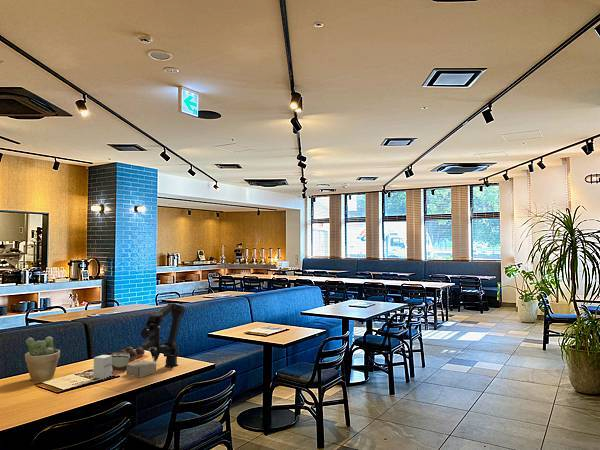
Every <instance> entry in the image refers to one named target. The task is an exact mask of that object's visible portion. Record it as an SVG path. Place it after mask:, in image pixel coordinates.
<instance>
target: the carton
mask: <svg viewBox="0 0 600 450" xmlns="http://www.w3.org/2000/svg"><path fill="white" fill-rule="evenodd" d="M151 364H153V361H149V360H145V359H143V360H140V361H138V362H134V363H130V364H127V366H126V371H125V372H126V374H125V375H128V376H133V377H135V378H136V377H137V378H140V377H139V367H143V366H147V365H151Z"/></svg>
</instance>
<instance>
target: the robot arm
mask: <svg viewBox="0 0 600 450" xmlns="http://www.w3.org/2000/svg"><path fill="white" fill-rule="evenodd" d="M185 312H186V308H185V307H184V306H183V305H179V304H177V303H174V302H169V303H167V304H166V305H165V306H164V307H162V309H161V310H159V311H158V312H155V313H152V314H151V315H149V316H148V319H147V322H146V324H145V326H144V327H143V329H142V330H141V331H140V337H141V338H142V339H145V342H143V343H142V344H141V348H143V349H144V351H148V352H150V354H151V358H152V359H153V357H154V360H155V361H158V359H159V357H160V355H161V353H162V354H163V357H164V358H165V357H166V358H165V365H164V367H167V368H174V367H178V366H179V364H178V361H177V359H178V358H179V356H180V351H179V350H178V345H177V342H176V340H177V336H178V331H179V327H180V321H181V319H182V318H183V317H184V315H185ZM169 314H170V315H171V319H172V320H171V324H170V328H169V335H168V339H167V341H165V342H164V343H163V344H162V343H161V339H162V336H161V328H162V327H163V325H162V323H163V322H164V318H166V317H167V315H169ZM147 339H148V340H147Z"/></svg>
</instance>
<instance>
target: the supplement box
mask: <svg viewBox="0 0 600 450" xmlns="http://www.w3.org/2000/svg"><path fill="white" fill-rule="evenodd" d="M112 373H113V371H112V356H111V355H108V354H101V355H98V356H95V357H94V356H93V376H92V377H93V378H99V379H98V380H101V379H103V380H105V379H108V378H110V377H109V376H111V377H112ZM107 377H108V378H107ZM104 378H105V379H104Z"/></svg>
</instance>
